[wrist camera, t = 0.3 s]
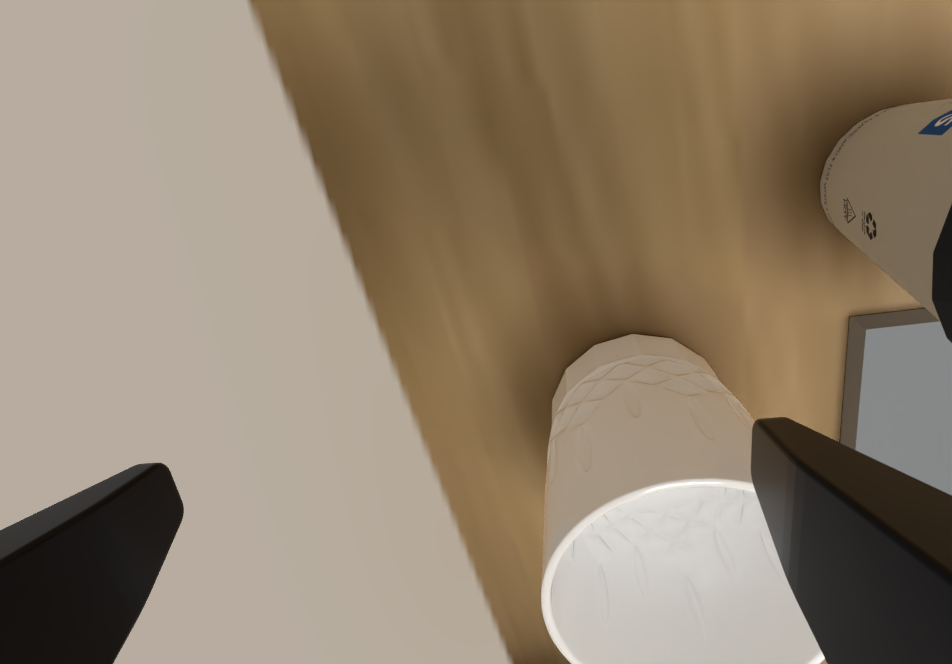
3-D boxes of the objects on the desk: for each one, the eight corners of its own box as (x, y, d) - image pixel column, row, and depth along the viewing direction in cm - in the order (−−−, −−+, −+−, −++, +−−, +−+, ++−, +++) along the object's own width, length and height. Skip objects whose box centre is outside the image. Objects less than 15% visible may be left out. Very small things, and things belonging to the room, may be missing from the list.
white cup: (529, 328, 24) (526, 489, 14) (738, 309, 23) (878, 470, 13) (546, 490, 27) (554, 709, 17) (732, 480, 26) (843, 708, 16)
